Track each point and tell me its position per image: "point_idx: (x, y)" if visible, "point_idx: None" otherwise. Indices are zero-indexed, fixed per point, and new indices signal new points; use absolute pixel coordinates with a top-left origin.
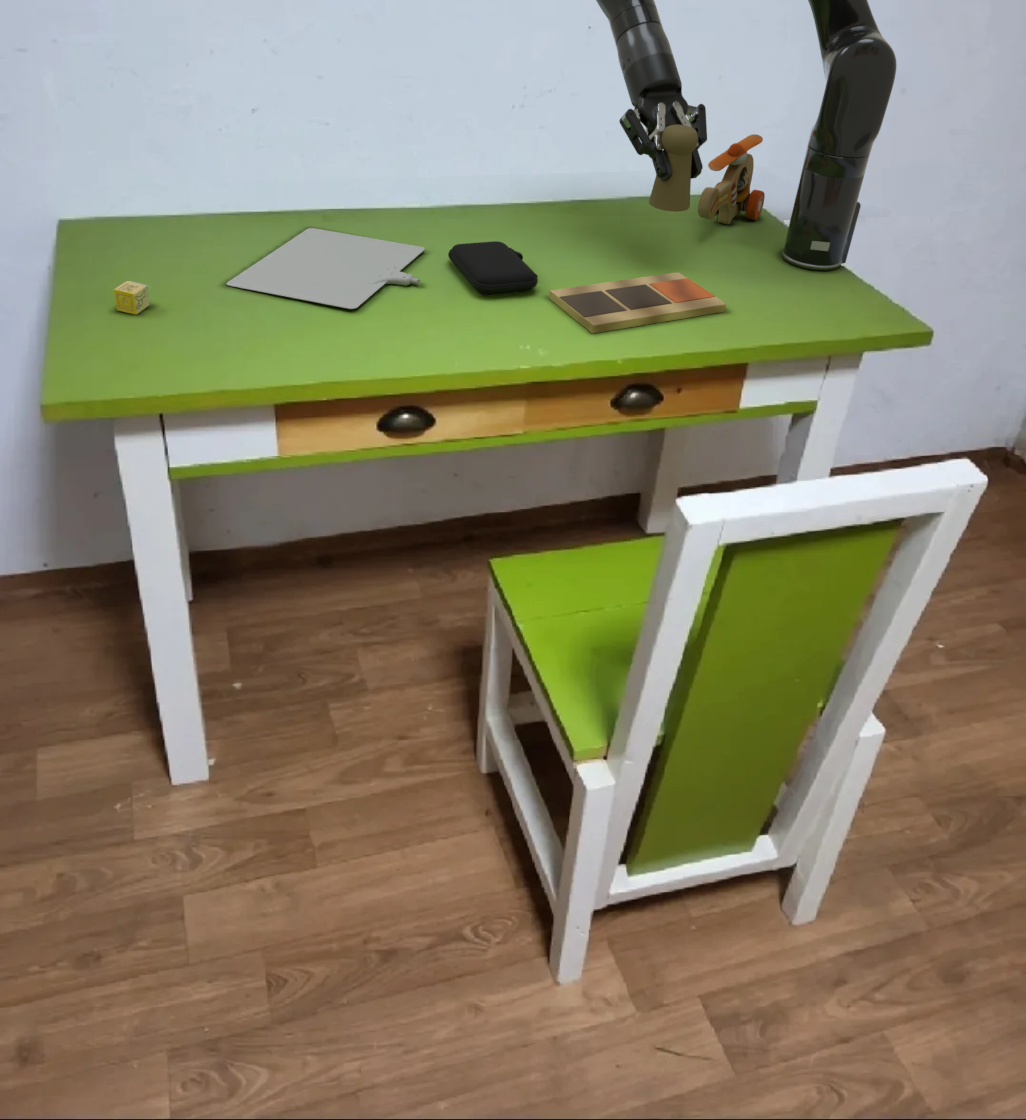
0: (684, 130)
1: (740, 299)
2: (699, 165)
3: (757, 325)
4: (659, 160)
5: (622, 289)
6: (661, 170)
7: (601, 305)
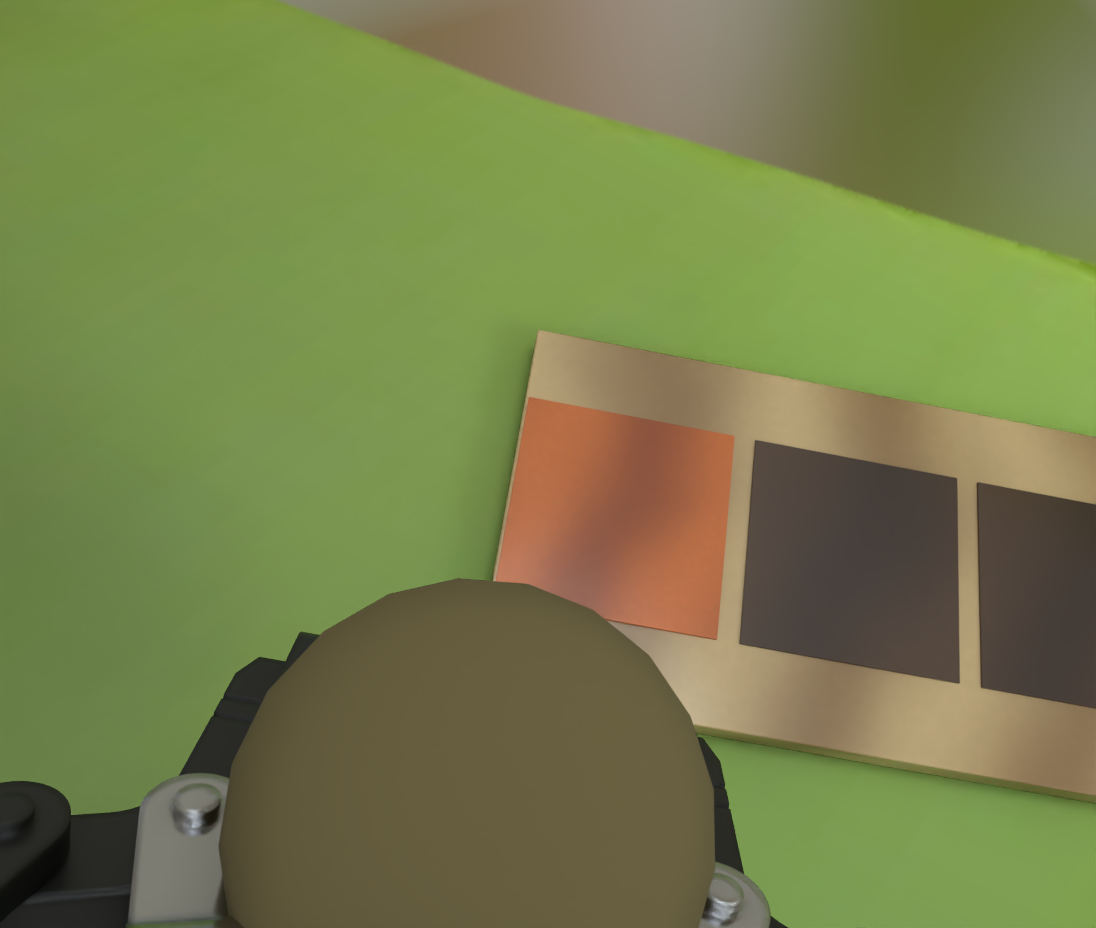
0: (546, 673)
1: (370, 395)
2: (300, 655)
3: (507, 215)
4: (724, 823)
5: (880, 648)
6: (714, 763)
7: (1059, 563)
